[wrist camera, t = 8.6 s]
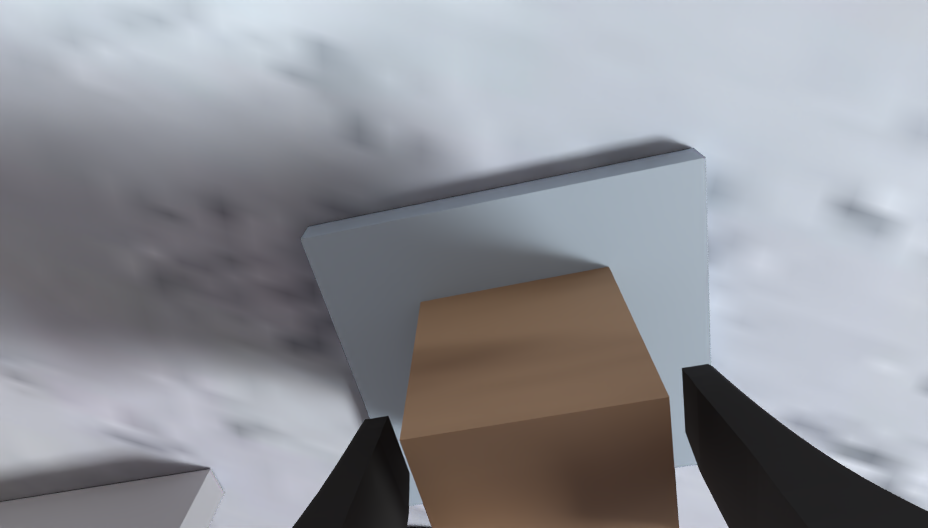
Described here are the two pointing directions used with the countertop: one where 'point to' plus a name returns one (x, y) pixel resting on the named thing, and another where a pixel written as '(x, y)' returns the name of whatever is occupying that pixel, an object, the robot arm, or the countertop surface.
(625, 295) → the board
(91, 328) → the countertop surface
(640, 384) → the walnut cube
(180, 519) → the grey flat u-shaped piece
